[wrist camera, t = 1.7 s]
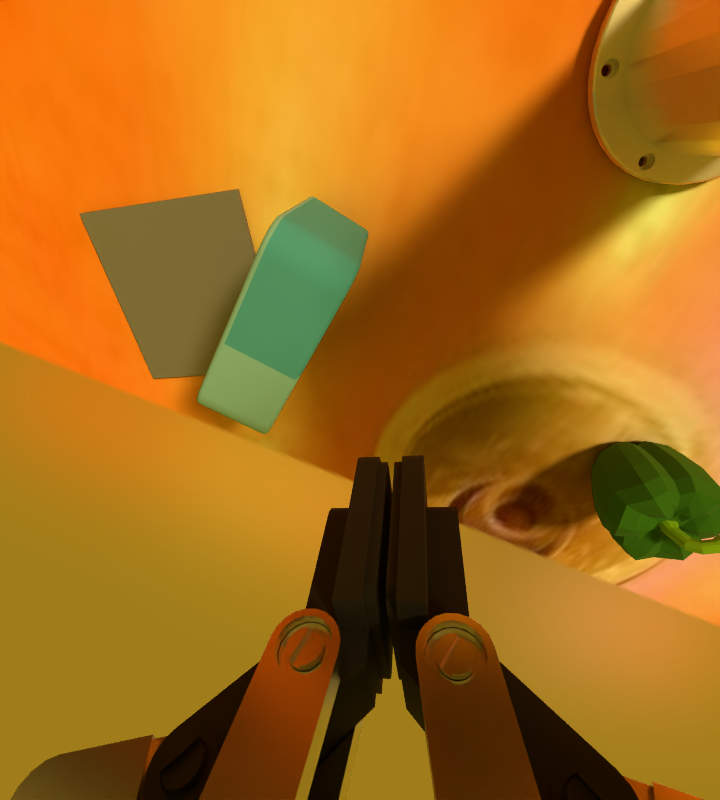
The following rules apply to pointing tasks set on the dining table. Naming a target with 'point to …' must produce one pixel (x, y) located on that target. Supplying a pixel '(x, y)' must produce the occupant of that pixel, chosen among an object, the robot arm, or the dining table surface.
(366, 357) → the dining table surface
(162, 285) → the mat
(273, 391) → the teal square box
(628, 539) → the bell pepper
